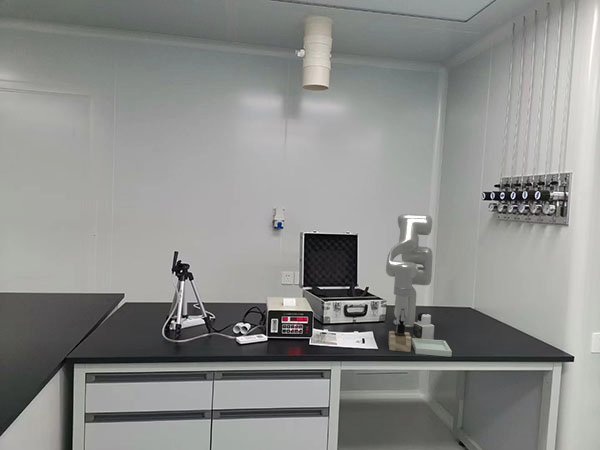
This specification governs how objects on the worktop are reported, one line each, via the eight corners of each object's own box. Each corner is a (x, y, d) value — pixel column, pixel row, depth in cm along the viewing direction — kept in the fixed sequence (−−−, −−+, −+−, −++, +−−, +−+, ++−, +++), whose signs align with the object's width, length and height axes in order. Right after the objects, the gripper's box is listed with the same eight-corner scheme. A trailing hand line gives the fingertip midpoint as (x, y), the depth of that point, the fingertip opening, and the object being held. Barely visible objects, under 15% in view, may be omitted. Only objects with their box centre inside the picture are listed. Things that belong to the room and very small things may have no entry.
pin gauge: (395, 339, 206) (397, 313, 205) (402, 340, 205) (404, 313, 205) (396, 341, 202) (397, 315, 202) (403, 342, 202) (405, 315, 201)
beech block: (388, 343, 209) (389, 330, 209) (408, 345, 208) (409, 332, 208) (389, 350, 200) (390, 336, 200) (410, 351, 199) (411, 338, 199)
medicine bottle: (412, 336, 222) (414, 312, 222) (424, 335, 225) (426, 311, 224) (421, 340, 216) (422, 316, 215) (433, 339, 218) (435, 315, 217)
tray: (411, 343, 212) (412, 338, 212) (444, 345, 210) (445, 340, 210) (415, 353, 197) (416, 348, 197) (451, 356, 195) (451, 351, 195)
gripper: (392, 287, 211) (390, 326, 212) (395, 294, 195) (393, 336, 196) (409, 288, 210) (406, 327, 211) (413, 295, 194) (410, 338, 195)
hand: (400, 331), depth 204 cm, fingers closed on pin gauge, 3 cm apart
